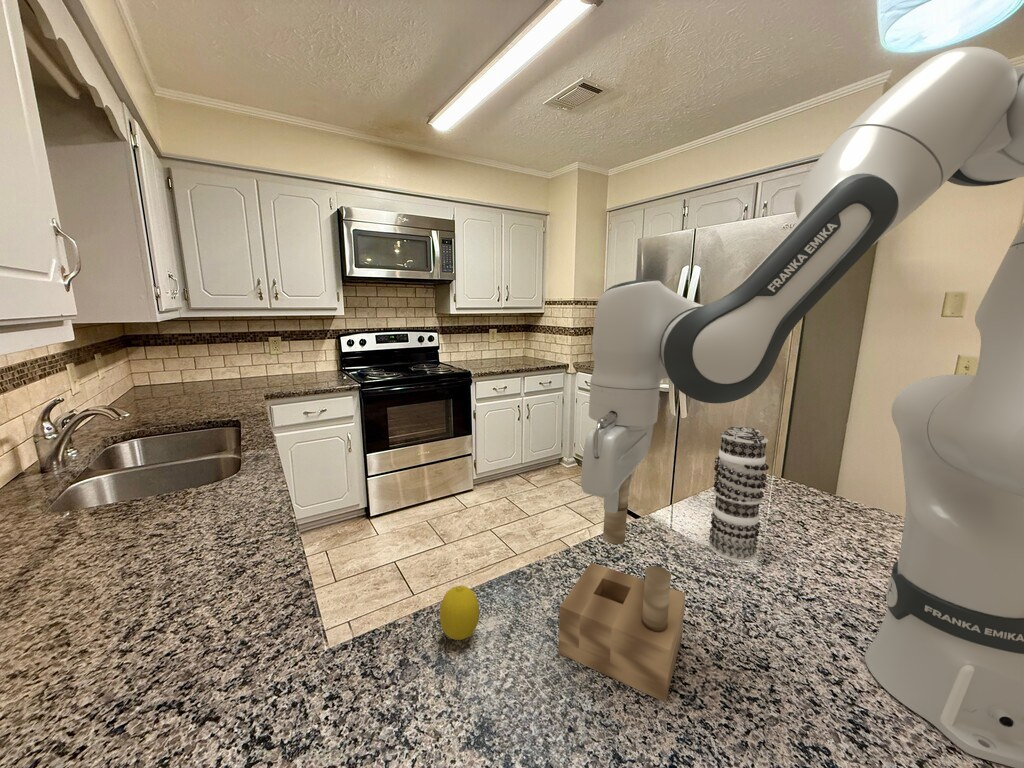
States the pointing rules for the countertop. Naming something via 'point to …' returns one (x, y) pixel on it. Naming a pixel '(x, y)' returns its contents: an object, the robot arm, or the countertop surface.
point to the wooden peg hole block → (624, 626)
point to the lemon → (459, 612)
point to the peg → (617, 518)
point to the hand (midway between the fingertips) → (616, 504)
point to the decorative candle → (738, 493)
